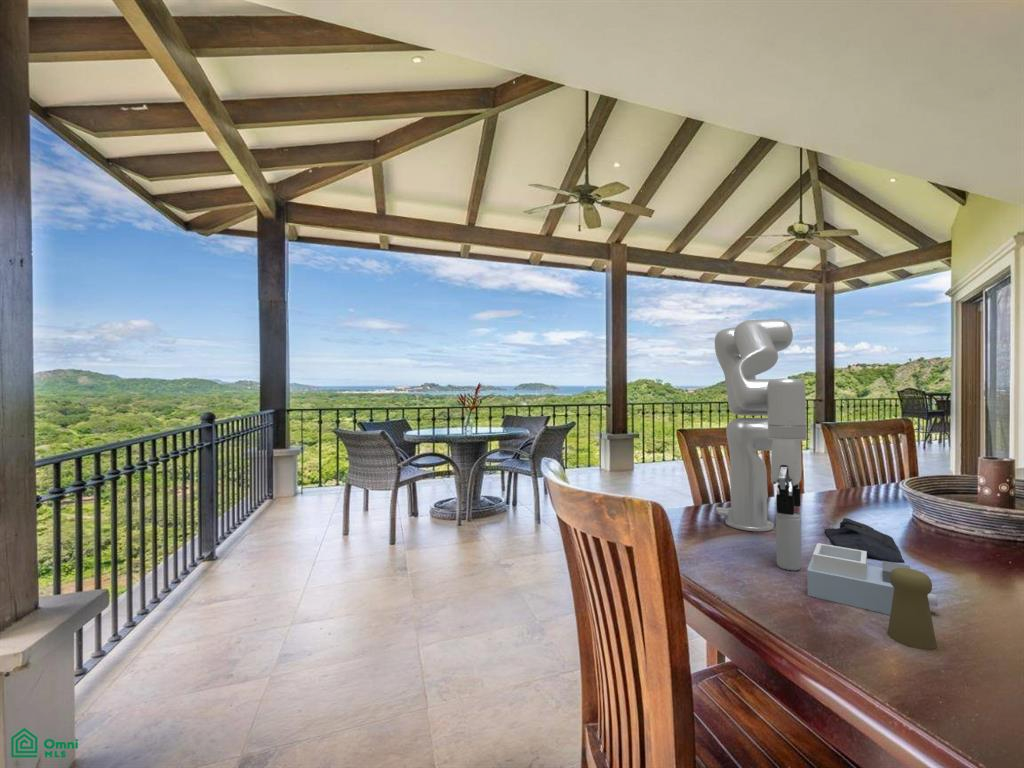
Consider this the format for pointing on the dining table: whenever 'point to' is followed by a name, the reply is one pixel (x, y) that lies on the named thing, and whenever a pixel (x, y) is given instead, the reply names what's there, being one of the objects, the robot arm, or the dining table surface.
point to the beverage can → (788, 541)
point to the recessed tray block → (852, 579)
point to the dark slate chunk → (865, 540)
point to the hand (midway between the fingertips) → (789, 509)
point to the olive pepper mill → (911, 609)
